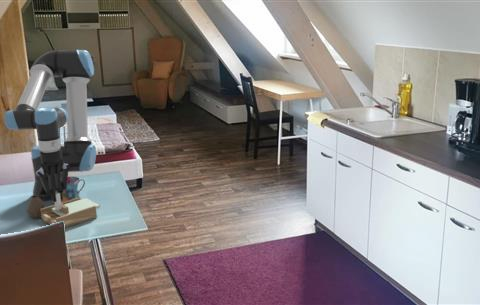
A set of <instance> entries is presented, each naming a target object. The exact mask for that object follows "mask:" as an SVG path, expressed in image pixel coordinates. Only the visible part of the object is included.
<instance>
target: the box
mask: <svg viewBox="0 0 480 305" xmlns="http://www.w3.org/2000/svg"><path fill="white" fill-rule="evenodd" d="M78 200H79V198H75V199H72V200H69V201H65V202H62V203H61V204H63V205H64V204H68V203H71V202H74V201H78ZM54 207H55V204H53V205H49V206H46V207H45V208H42V209H40V211H41V218H40V219H41V221H42V222H44V223H45V224H47V225H48V224H52V223H56V222H60V221H64V224H65V229H67V227H68V228H70V226H71V227H73V225H74V226H75V225H79V224H82V223H85V222H88V221H91V220H93V218H94V219H96V217H98V216H97V209H96V206H92V207H89V208H86V209H83V210H80V211H77V212H74V213H71V214H67V215H64V216H59V215H57V214H56V213H54V212H52V209H51V208H54Z"/></svg>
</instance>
